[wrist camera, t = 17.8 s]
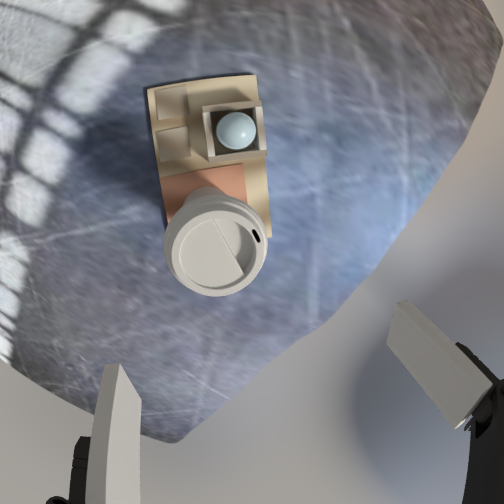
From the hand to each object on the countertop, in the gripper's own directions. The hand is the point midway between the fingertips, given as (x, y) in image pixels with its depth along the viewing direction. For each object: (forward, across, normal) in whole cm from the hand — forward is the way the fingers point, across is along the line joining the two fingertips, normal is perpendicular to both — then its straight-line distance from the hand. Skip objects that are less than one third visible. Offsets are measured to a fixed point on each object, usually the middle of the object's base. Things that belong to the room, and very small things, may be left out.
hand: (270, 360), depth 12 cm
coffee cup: (+28, -1, -1) cm, 28 cm away
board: (+29, 0, +5) cm, 29 cm away
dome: (+27, +3, +9) cm, 29 cm away
